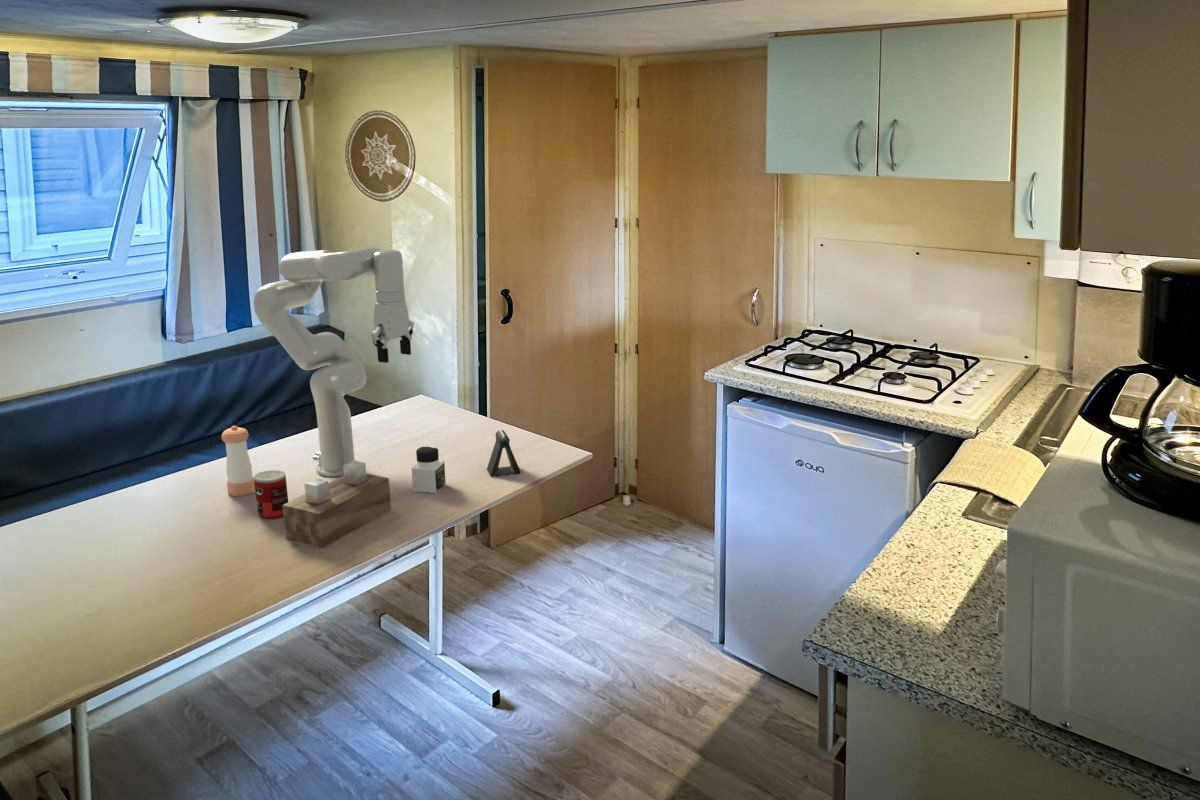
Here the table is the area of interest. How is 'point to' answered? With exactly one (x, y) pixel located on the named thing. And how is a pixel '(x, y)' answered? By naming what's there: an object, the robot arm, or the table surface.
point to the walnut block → (336, 511)
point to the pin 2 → (355, 473)
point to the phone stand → (496, 457)
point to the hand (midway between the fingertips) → (394, 358)
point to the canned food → (270, 493)
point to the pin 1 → (317, 491)
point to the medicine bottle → (428, 471)
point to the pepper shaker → (238, 462)
